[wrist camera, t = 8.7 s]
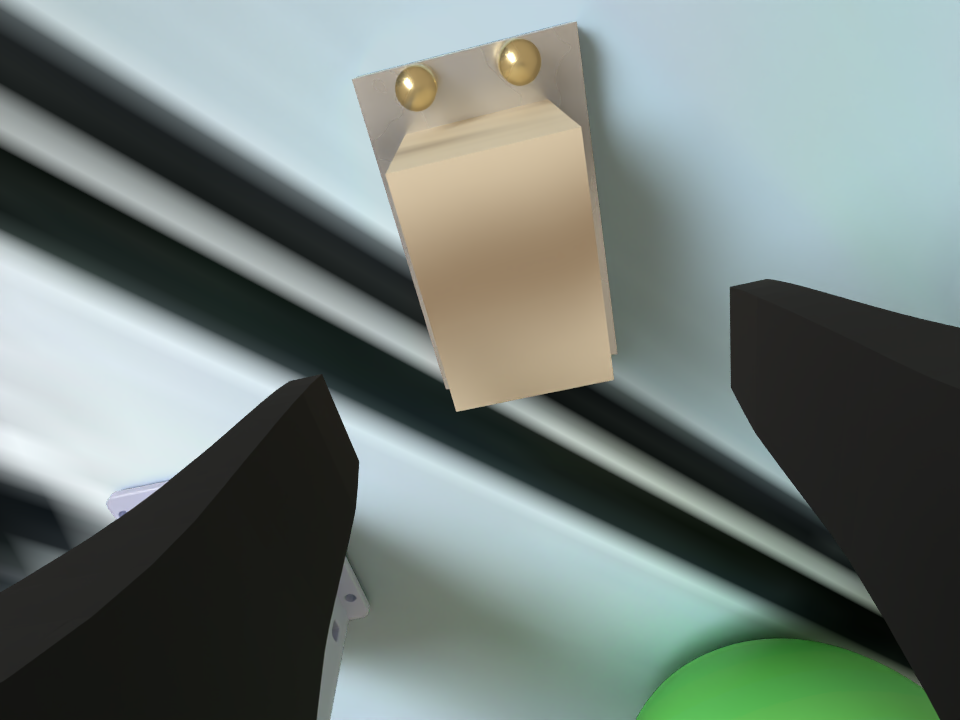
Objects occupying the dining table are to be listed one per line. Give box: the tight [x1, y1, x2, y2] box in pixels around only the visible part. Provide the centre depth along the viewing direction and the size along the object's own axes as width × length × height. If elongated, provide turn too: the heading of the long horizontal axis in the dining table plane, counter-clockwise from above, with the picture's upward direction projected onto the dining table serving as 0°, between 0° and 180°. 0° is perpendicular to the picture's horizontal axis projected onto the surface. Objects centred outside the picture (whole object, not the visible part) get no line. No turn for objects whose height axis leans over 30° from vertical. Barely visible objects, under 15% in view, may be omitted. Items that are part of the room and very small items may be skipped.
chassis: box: [352, 22, 617, 389], centre depth 17 cm, size 10×6×2 cm, turn 13°
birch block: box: [385, 99, 614, 412], centre depth 15 cm, size 6×4×5 cm, turn 13°
